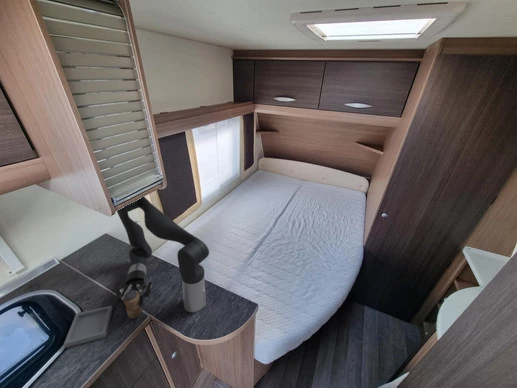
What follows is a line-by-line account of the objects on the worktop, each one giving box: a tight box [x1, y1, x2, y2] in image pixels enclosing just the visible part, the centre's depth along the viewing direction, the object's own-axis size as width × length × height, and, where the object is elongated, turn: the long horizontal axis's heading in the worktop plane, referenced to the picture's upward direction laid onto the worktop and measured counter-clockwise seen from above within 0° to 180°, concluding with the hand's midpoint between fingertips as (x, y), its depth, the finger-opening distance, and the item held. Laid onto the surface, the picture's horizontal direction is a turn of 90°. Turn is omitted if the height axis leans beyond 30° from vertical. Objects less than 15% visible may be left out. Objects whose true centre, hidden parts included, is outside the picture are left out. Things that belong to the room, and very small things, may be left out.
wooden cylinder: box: [123, 290, 143, 320], centre depth 84 cm, size 5×5×11 cm
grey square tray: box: [63, 305, 113, 349], centre depth 80 cm, size 12×12×2 cm
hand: (131, 307), depth 81 cm, fingers closed on wooden cylinder, 5 cm apart
